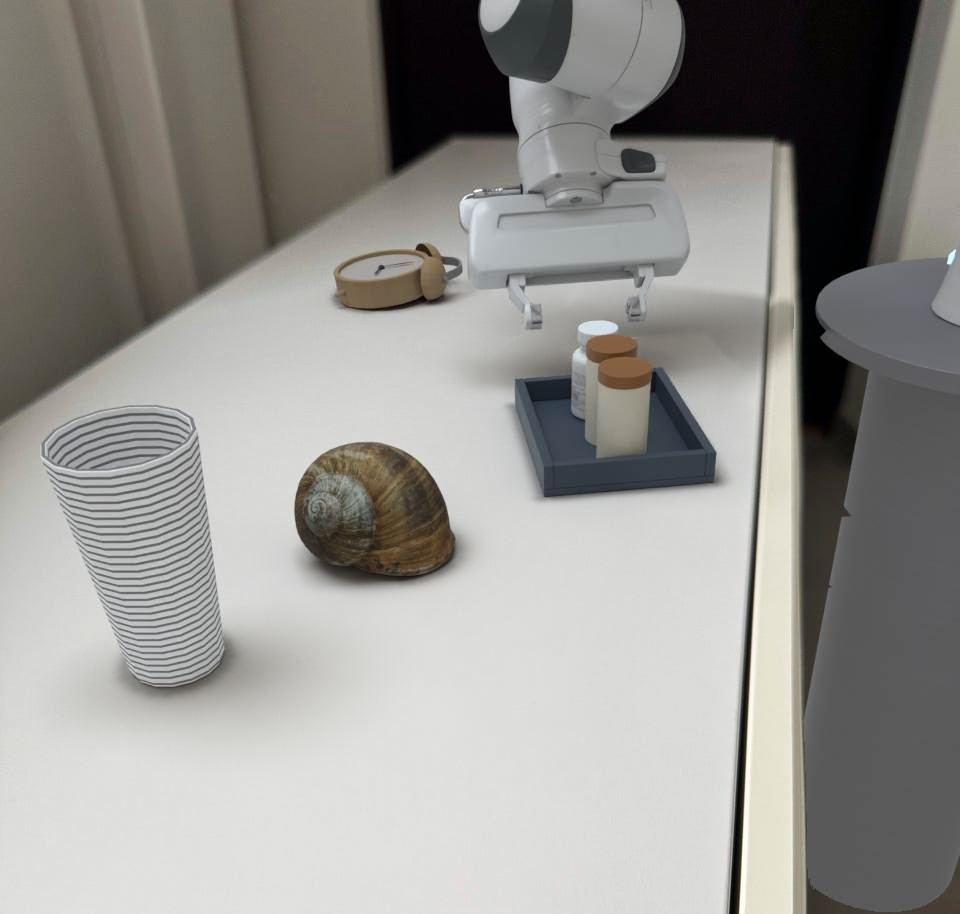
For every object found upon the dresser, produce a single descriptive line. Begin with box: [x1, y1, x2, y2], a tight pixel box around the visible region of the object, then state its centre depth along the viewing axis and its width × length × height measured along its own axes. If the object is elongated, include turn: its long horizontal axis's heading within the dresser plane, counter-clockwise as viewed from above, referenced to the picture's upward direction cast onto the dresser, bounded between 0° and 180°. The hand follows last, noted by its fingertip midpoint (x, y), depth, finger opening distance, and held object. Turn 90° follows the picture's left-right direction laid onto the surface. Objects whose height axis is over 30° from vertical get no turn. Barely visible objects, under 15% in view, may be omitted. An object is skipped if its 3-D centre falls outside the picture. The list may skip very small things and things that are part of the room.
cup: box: [39, 404, 226, 688], centre depth 63 cm, size 8×8×16 cm
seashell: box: [293, 441, 456, 577], centre depth 74 cm, size 11×9×8 cm
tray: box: [514, 366, 718, 497], centre depth 89 cm, size 14×18×3 cm
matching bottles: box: [585, 334, 653, 458], centre depth 85 cm, size 4×9×8 cm, turn 6°
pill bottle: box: [571, 320, 619, 420], centre depth 91 cm, size 4×4×8 cm
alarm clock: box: [332, 242, 464, 309], centre depth 122 cm, size 11×5×15 cm
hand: (585, 323), depth 95 cm, fingers open, 8 cm apart
